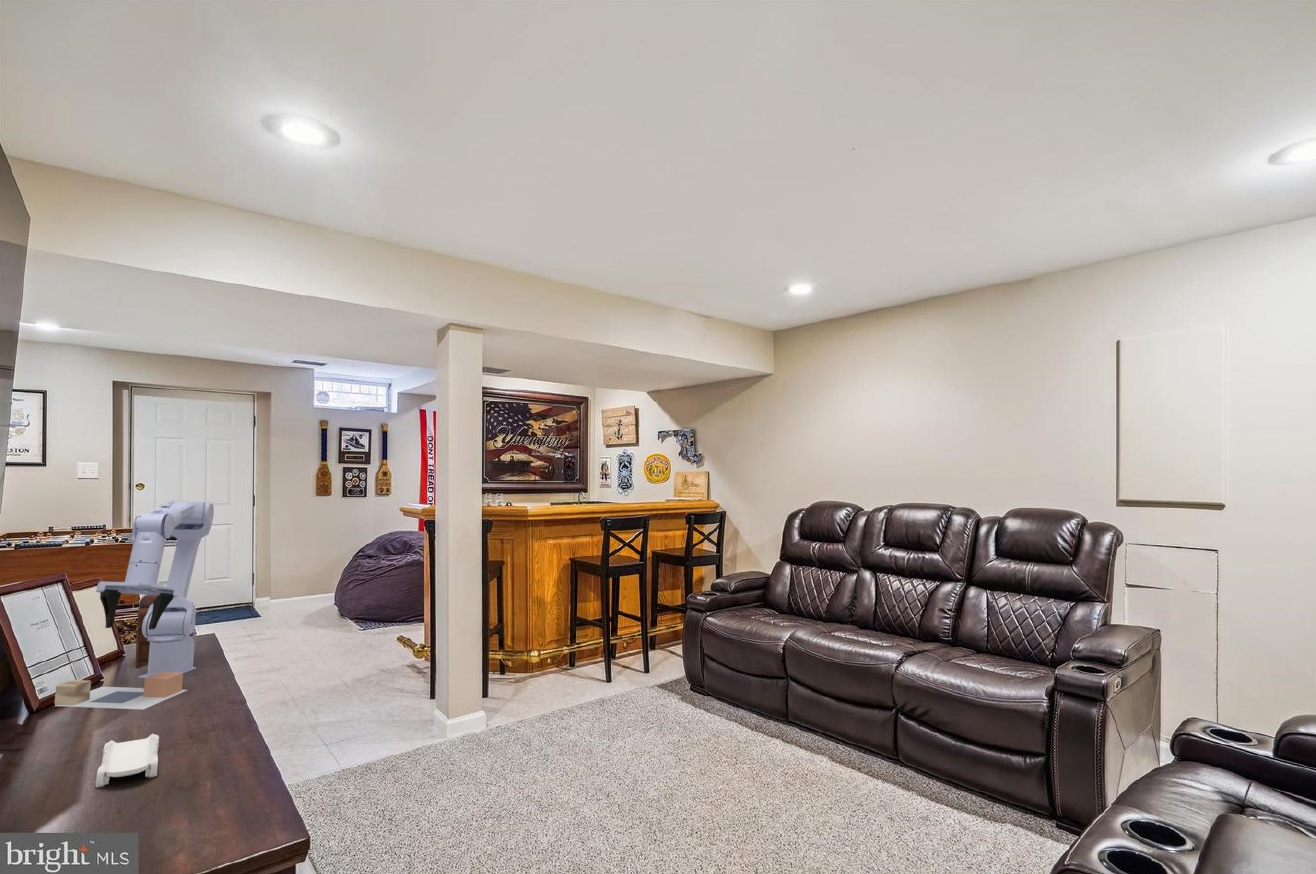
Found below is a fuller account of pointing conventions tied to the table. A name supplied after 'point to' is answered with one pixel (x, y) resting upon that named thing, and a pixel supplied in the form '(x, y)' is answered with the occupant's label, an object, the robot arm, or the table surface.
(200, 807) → the table surface
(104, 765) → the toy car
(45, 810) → the table surface
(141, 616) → the wooden figurine
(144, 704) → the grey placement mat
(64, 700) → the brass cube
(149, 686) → the terracotta block
